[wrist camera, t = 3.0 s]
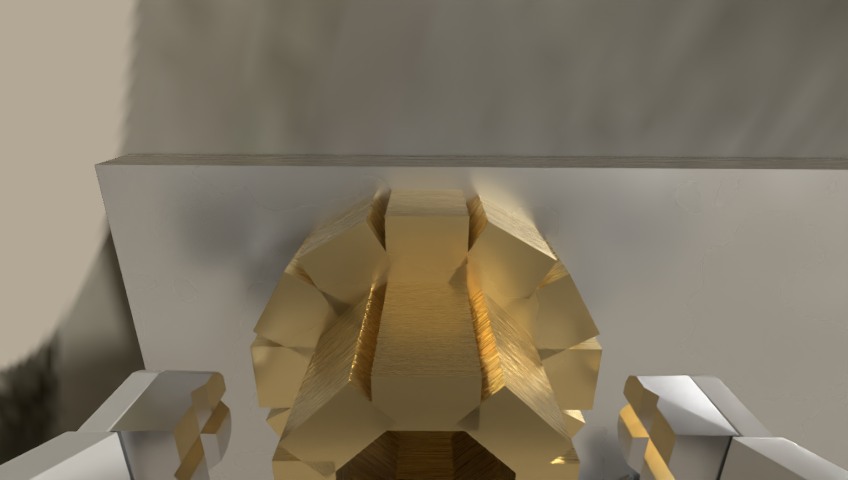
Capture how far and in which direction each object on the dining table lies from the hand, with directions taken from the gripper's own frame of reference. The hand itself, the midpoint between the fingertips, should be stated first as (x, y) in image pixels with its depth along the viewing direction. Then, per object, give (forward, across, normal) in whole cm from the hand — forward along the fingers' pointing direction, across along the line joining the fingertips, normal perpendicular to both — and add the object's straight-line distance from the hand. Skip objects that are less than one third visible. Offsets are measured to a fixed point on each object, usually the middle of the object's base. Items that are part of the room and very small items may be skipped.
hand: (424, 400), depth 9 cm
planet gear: (+2, 0, 0) cm, 2 cm away
